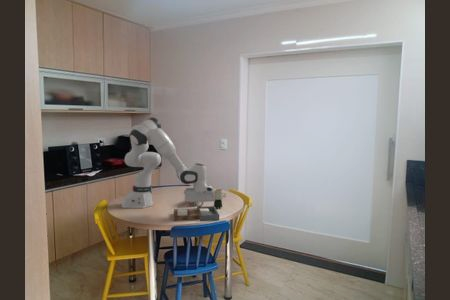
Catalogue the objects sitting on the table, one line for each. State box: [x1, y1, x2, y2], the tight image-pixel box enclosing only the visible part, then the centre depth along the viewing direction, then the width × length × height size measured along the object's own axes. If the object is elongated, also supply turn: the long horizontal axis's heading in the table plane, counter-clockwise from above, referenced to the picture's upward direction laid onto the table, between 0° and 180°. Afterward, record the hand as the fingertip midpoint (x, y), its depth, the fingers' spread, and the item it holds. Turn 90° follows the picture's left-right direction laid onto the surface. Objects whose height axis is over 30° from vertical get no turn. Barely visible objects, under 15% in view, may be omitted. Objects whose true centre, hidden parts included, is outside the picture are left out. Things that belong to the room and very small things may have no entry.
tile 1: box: [199, 208, 209, 215], centre depth 208 cm, size 6×6×2 cm
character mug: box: [213, 188, 227, 209], centre depth 223 cm, size 11×7×13 cm, turn 92°
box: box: [198, 205, 220, 222], centre depth 205 cm, size 12×19×3 cm, turn 12°
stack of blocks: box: [188, 186, 201, 207], centre depth 236 cm, size 21×6×12 cm, turn 170°
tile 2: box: [176, 208, 188, 216], centre depth 198 cm, size 6×6×2 cm
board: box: [173, 207, 200, 222], centre depth 202 cm, size 16×15×3 cm
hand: (199, 208), depth 207 cm, fingers closed
